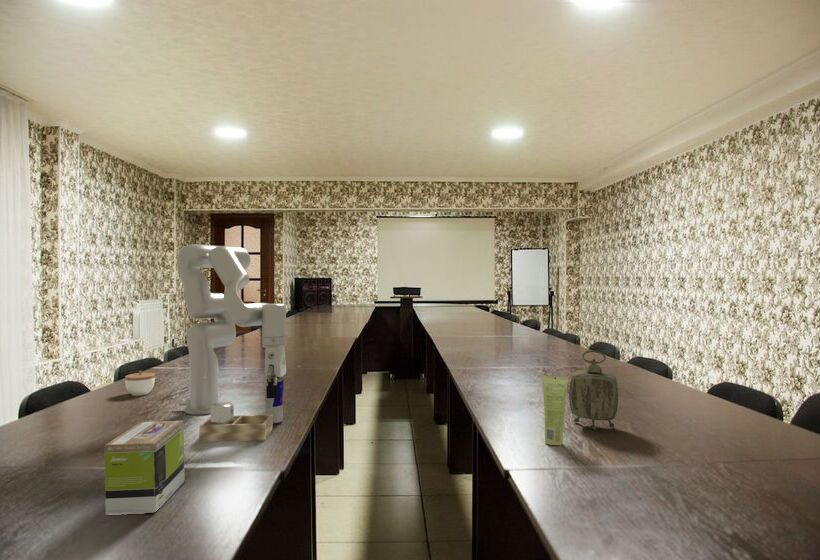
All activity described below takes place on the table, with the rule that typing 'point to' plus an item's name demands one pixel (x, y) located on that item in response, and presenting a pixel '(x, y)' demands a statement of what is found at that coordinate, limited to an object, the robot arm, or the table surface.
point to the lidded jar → (139, 383)
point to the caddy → (237, 429)
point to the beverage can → (275, 403)
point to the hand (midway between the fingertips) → (275, 394)
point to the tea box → (144, 467)
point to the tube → (554, 408)
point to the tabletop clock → (593, 393)
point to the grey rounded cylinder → (222, 413)
